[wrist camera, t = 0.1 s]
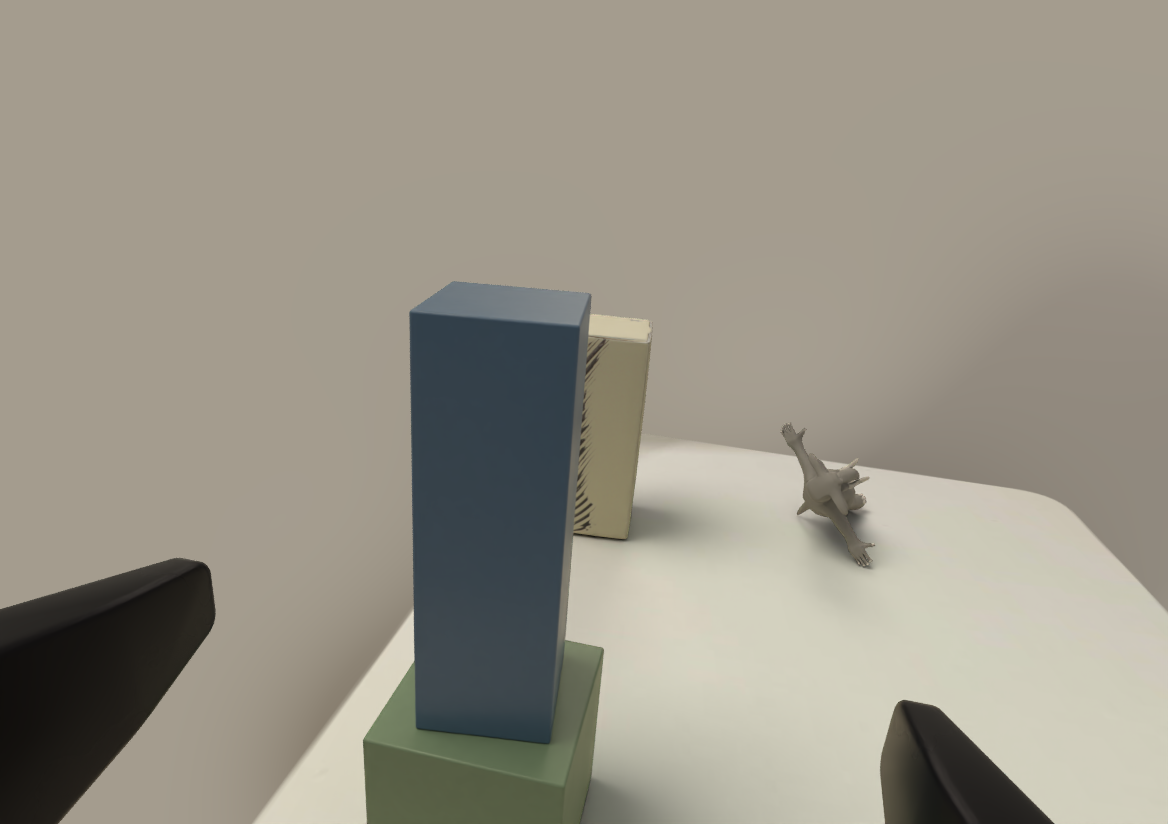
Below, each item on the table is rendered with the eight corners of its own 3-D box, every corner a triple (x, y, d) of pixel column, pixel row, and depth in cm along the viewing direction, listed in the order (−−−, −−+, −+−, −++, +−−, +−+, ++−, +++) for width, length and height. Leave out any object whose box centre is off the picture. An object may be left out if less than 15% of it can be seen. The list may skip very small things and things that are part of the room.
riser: (552, 935, 21) (565, 787, 19) (368, 885, 22) (361, 739, 20) (591, 775, 27) (604, 646, 25) (442, 741, 28) (443, 615, 26)
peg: (549, 745, 20) (580, 325, 16) (414, 729, 21) (408, 310, 16) (564, 653, 24) (591, 292, 20) (449, 641, 24) (451, 280, 20)
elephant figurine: (929, 538, 46) (906, 545, 39) (848, 577, 49) (811, 591, 41) (848, 411, 50) (813, 394, 43) (776, 453, 53) (731, 445, 45)
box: (569, 496, 48) (583, 311, 43) (633, 504, 48) (654, 318, 43) (557, 536, 43) (571, 331, 39) (629, 545, 43) (651, 339, 38)
